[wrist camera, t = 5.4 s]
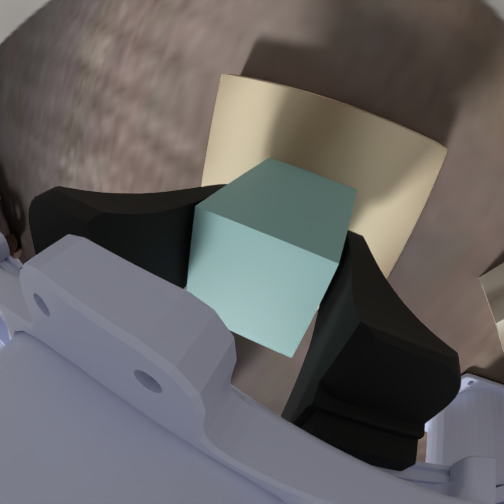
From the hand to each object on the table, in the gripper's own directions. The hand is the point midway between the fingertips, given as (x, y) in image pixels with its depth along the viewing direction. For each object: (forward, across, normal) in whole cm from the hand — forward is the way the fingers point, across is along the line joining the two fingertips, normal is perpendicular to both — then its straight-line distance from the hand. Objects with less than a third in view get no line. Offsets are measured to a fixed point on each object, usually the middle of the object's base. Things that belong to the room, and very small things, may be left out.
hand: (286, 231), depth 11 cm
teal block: (+2, 0, 0) cm, 2 cm away
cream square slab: (+4, 0, 0) cm, 4 cm away
